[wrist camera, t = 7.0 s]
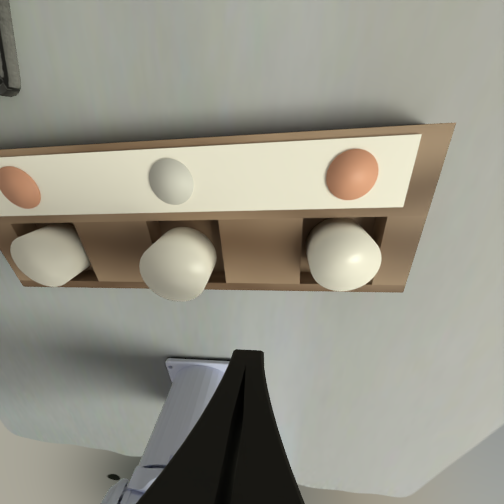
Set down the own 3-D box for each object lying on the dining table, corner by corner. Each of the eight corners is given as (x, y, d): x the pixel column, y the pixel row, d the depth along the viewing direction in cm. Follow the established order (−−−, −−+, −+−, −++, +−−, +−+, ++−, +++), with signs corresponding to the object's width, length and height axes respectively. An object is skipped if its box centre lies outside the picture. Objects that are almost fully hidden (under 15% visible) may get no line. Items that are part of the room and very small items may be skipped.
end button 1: (102, 268, 19) (79, 287, 16) (58, 268, 19) (29, 286, 17) (82, 221, 17) (53, 235, 14) (34, 222, 17) (-2, 236, 15)
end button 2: (361, 270, 16) (374, 291, 14) (303, 269, 17) (307, 290, 15) (371, 216, 14) (388, 231, 12) (307, 217, 15) (312, 232, 13)
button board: (387, 272, 18) (403, 292, 15) (50, 270, 21) (23, 286, 19) (425, 124, 13) (456, 122, 11) (-15, 150, 16) (-61, 153, 14)
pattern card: (401, 206, 13) (404, 207, 13) (-3, 215, 16) (-8, 217, 15) (419, 134, 11) (423, 134, 11) (-36, 159, 14) (-42, 159, 14)
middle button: (219, 279, 16) (210, 302, 14) (166, 278, 17) (149, 300, 15) (212, 226, 14) (200, 243, 12) (152, 227, 15) (130, 244, 13)
